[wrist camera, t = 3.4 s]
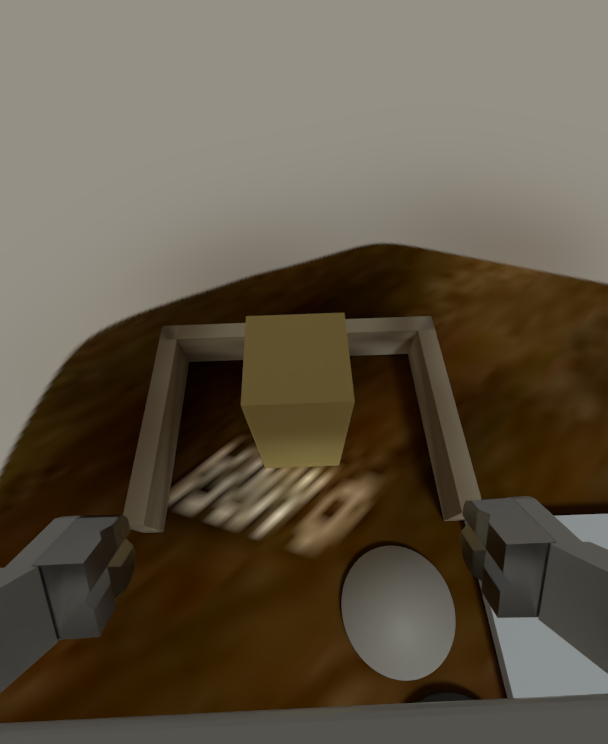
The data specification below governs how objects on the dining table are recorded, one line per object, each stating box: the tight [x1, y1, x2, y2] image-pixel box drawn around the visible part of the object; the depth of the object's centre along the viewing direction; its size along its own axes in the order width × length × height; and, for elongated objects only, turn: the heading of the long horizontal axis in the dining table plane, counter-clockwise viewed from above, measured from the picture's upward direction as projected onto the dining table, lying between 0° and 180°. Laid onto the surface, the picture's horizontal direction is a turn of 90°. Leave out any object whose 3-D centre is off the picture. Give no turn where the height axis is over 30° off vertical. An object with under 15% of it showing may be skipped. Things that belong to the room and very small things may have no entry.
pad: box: [464, 514, 608, 698], centre depth 16 cm, size 8×8×1 cm
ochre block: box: [241, 313, 355, 468], centre depth 17 cm, size 4×4×8 cm
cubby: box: [123, 316, 481, 533], centre depth 20 cm, size 16×11×2 cm
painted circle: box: [341, 546, 455, 681], centre depth 16 cm, size 5×5×1 cm
